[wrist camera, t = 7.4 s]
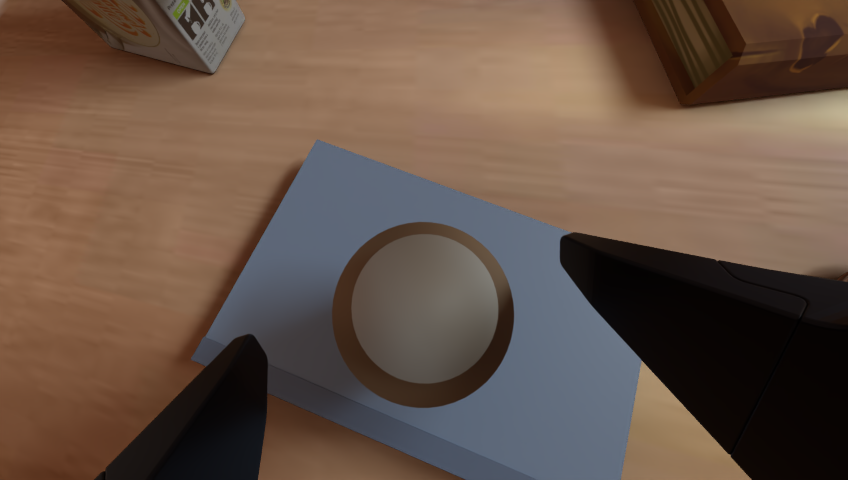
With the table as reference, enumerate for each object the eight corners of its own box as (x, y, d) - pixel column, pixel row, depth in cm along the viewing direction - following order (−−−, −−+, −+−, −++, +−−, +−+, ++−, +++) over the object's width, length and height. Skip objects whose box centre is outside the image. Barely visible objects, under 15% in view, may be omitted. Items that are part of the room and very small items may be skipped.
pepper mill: (412, 392, 16) (412, 471, 7) (352, 316, 17) (281, 291, 8) (482, 327, 18) (568, 315, 8) (423, 258, 19) (435, 174, 9)
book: (578, 508, 18) (611, 543, 15) (224, 356, 20) (190, 359, 17) (626, 274, 22) (659, 264, 19) (328, 163, 23) (316, 138, 20)
